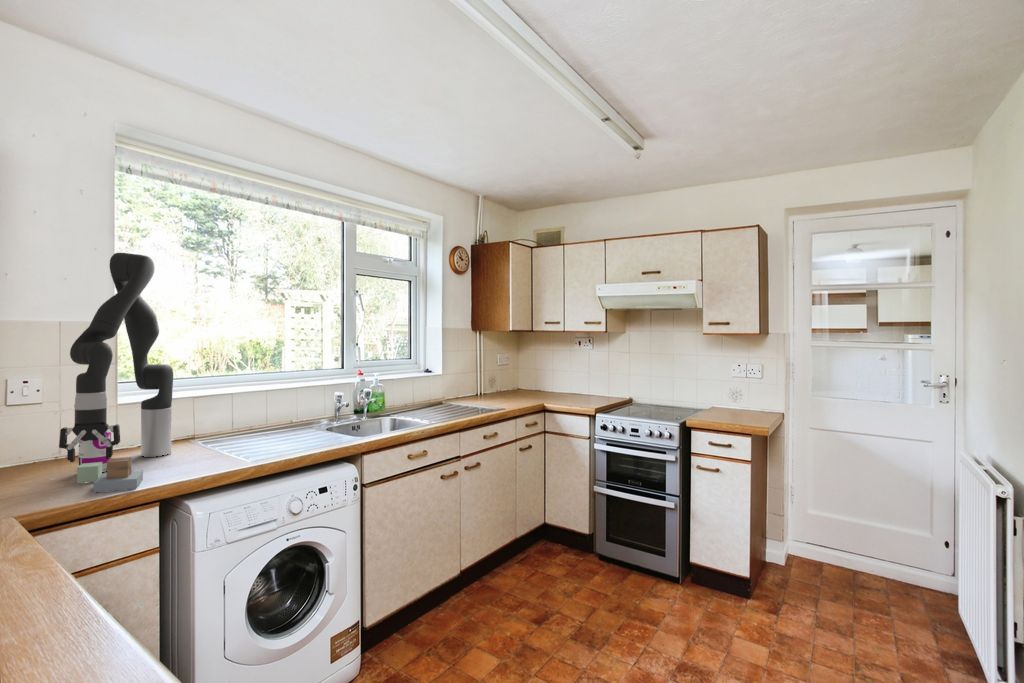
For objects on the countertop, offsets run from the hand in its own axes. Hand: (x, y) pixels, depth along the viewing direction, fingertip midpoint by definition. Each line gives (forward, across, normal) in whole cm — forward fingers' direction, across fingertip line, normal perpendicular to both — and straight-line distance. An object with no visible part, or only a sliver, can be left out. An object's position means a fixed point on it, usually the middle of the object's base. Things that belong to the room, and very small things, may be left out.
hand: (90, 460), depth 156 cm
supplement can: (+6, +1, -12) cm, 13 cm away
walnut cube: (+4, -9, +10) cm, 13 cm away
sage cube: (+6, 0, -1) cm, 7 cm away
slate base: (+6, -9, +10) cm, 14 cm away
